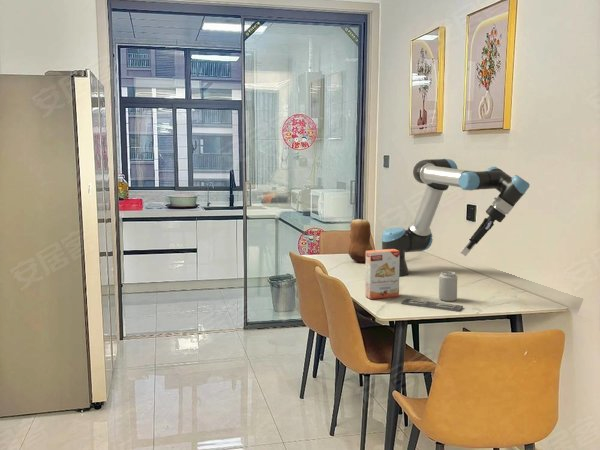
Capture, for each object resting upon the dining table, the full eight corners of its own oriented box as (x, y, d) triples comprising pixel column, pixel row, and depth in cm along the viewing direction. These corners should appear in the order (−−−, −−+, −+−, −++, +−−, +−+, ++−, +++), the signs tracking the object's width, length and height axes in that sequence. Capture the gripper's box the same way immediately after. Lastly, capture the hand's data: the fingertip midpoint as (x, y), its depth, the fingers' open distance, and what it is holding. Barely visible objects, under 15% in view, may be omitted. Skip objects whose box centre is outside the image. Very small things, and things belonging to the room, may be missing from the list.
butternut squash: (372, 259, 327) (372, 217, 324) (373, 264, 314) (372, 220, 311) (348, 259, 329) (348, 217, 325) (348, 264, 316) (347, 220, 312)
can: (458, 298, 240) (459, 271, 238) (454, 303, 234) (454, 275, 232) (441, 296, 244) (442, 269, 242) (436, 300, 237) (436, 273, 236)
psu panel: (406, 300, 239) (407, 298, 239) (463, 307, 226) (463, 305, 226) (401, 303, 234) (401, 301, 234) (458, 311, 221) (458, 309, 221)
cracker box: (370, 300, 241) (370, 252, 238) (365, 296, 247) (364, 250, 244) (400, 297, 245) (400, 250, 242) (393, 293, 251) (393, 248, 248)
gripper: (490, 202, 236) (455, 245, 243) (492, 206, 224) (455, 252, 230) (505, 212, 235) (469, 256, 242) (508, 217, 223) (470, 262, 229)
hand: (463, 254), depth 236 cm, fingers closed
